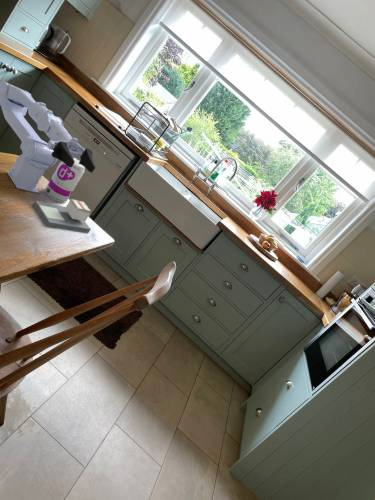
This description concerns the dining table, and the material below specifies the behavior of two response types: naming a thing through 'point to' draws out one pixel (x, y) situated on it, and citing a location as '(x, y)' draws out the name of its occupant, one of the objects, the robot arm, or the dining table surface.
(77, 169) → the supplement can
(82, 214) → the white cube with stripe
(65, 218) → the board
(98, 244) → the dining table surface
